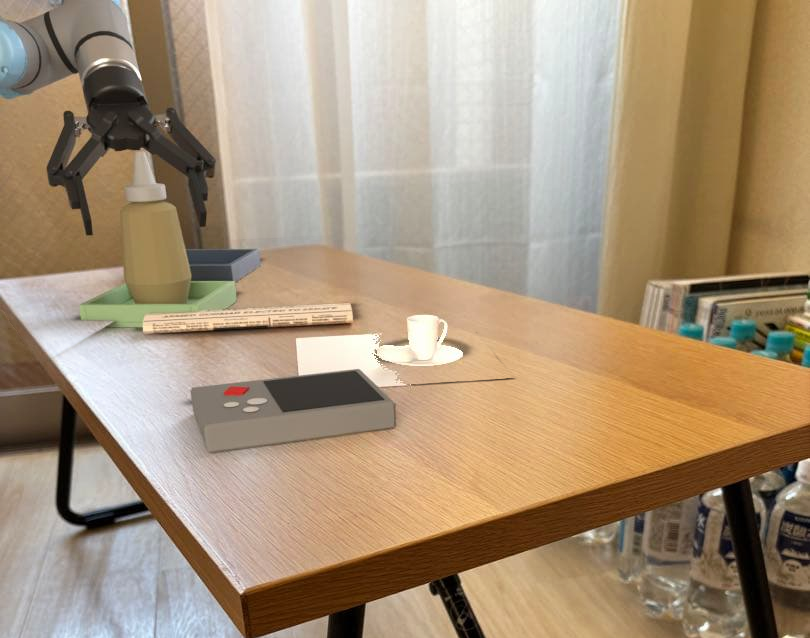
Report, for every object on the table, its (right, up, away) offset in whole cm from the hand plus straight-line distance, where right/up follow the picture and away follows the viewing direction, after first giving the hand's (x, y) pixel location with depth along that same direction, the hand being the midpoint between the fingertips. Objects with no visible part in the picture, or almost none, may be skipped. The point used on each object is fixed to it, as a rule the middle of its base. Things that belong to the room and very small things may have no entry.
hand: (147, 224), depth 108 cm
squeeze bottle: (+1, -10, +3) cm, 10 cm away
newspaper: (+13, -13, -4) cm, 19 cm away
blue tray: (0, +2, +27) cm, 27 cm away
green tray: (+1, -10, +3) cm, 11 cm away
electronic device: (+22, -29, -34) cm, 50 cm away
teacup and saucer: (+30, -20, -17) cm, 40 cm away
